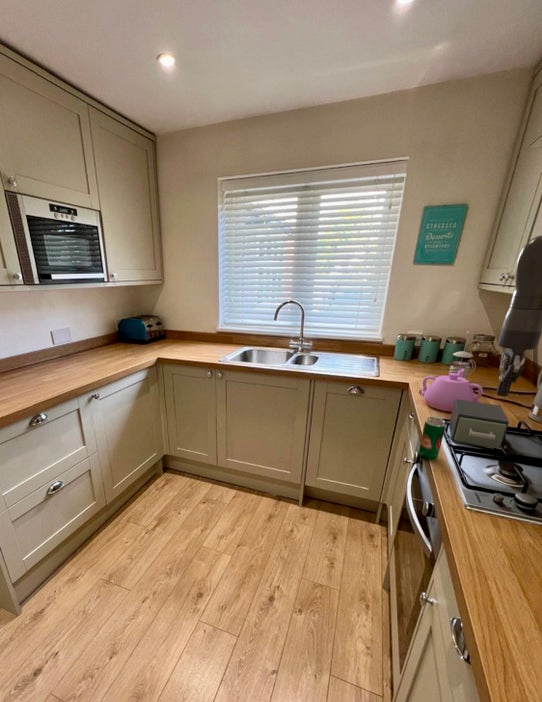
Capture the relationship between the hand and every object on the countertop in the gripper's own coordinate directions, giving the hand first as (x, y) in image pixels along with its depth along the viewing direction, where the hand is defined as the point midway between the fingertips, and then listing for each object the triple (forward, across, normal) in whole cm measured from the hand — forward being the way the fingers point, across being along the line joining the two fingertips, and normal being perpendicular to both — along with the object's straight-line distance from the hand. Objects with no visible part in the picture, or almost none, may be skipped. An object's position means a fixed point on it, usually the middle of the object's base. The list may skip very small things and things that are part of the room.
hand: (501, 395), depth 85 cm
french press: (+21, +85, 0) cm, 88 cm away
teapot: (+21, +48, +6) cm, 53 cm away
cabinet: (+21, +20, 0) cm, 29 cm away
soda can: (+21, -2, +13) cm, 25 cm away
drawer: (+20, +16, 0) cm, 26 cm away
